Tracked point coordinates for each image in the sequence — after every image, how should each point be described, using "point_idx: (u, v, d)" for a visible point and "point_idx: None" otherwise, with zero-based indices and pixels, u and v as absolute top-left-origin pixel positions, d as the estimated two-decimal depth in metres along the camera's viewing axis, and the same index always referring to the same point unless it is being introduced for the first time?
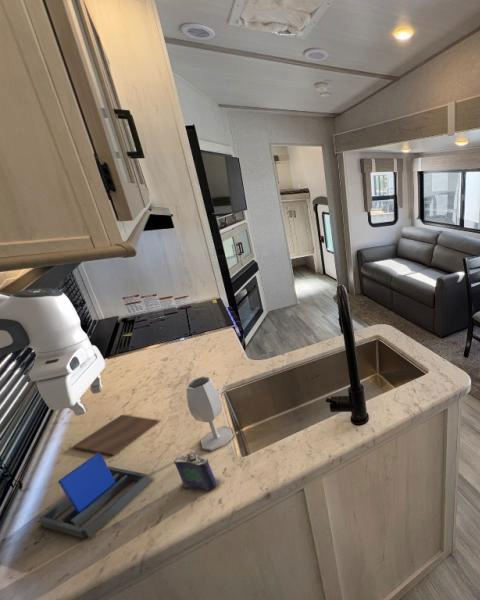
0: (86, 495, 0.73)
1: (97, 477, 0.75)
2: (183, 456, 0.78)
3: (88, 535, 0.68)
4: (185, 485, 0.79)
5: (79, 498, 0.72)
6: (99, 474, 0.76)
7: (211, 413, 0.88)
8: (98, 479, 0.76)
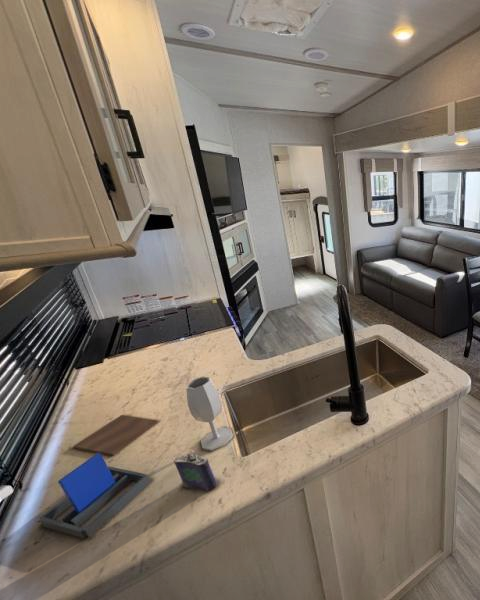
0: (86, 495, 0.73)
1: (97, 477, 0.75)
2: (183, 456, 0.78)
3: (88, 535, 0.68)
4: (185, 485, 0.79)
5: (79, 498, 0.72)
6: (99, 474, 0.76)
7: (211, 413, 0.88)
8: (98, 479, 0.76)
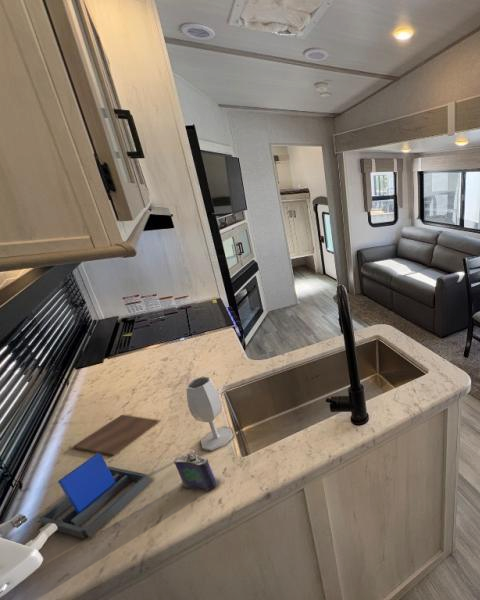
0: (86, 495, 0.73)
1: (97, 477, 0.75)
2: (183, 456, 0.78)
3: (88, 535, 0.68)
4: (185, 485, 0.79)
5: (79, 498, 0.72)
6: (99, 474, 0.76)
7: (211, 413, 0.88)
8: (98, 479, 0.76)
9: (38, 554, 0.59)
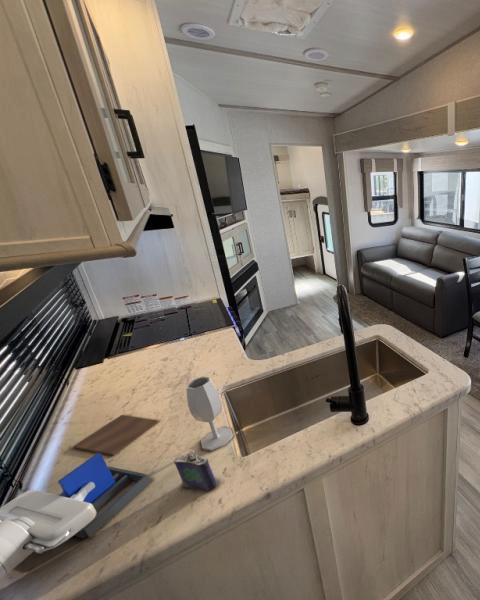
0: None
1: (97, 477, 0.75)
2: (183, 456, 0.78)
3: (88, 535, 0.68)
4: (185, 485, 0.79)
5: None
6: (99, 474, 0.76)
7: (211, 413, 0.88)
8: (98, 479, 0.76)
9: (93, 508, 0.67)
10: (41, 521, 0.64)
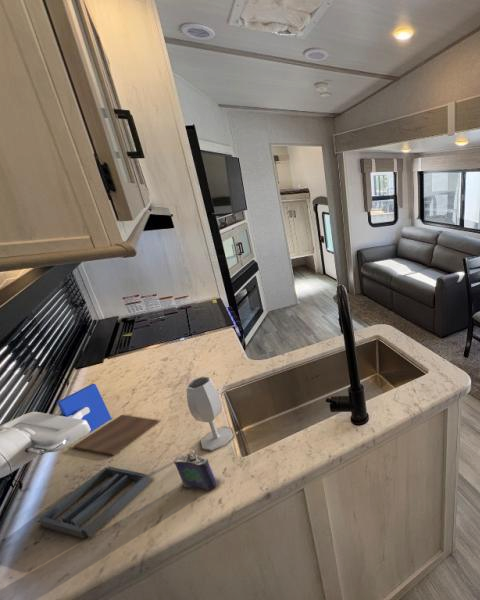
0: (81, 418, 0.82)
1: (92, 404, 0.84)
2: (183, 456, 0.78)
3: (88, 535, 0.68)
4: (185, 485, 0.79)
5: None
6: (94, 402, 0.84)
7: (211, 413, 0.88)
8: (93, 407, 0.84)
9: (87, 424, 0.75)
10: (41, 432, 0.72)
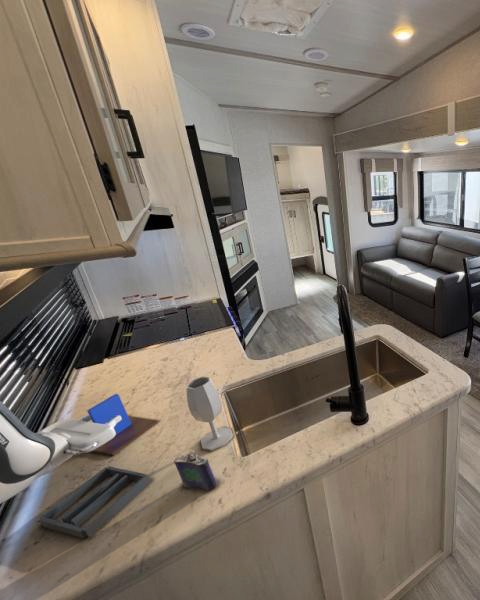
0: None
1: (115, 412, 0.97)
2: (183, 456, 0.78)
3: (88, 535, 0.68)
4: (185, 485, 0.79)
5: None
6: (117, 410, 0.98)
7: (211, 413, 0.88)
8: (116, 414, 0.98)
9: (113, 429, 0.89)
10: (75, 436, 0.86)
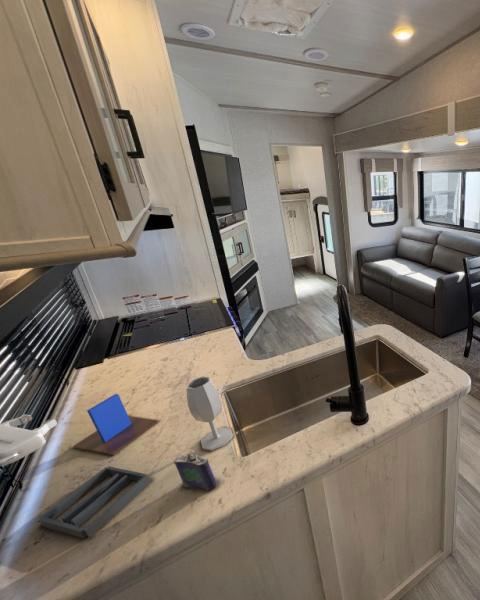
0: (107, 424, 0.95)
1: (115, 412, 0.97)
2: (183, 456, 0.78)
3: (88, 535, 0.68)
4: (185, 485, 0.79)
5: (102, 426, 0.94)
6: (117, 410, 0.98)
7: (211, 413, 0.88)
8: (116, 414, 0.98)
9: (42, 436, 0.75)
10: None
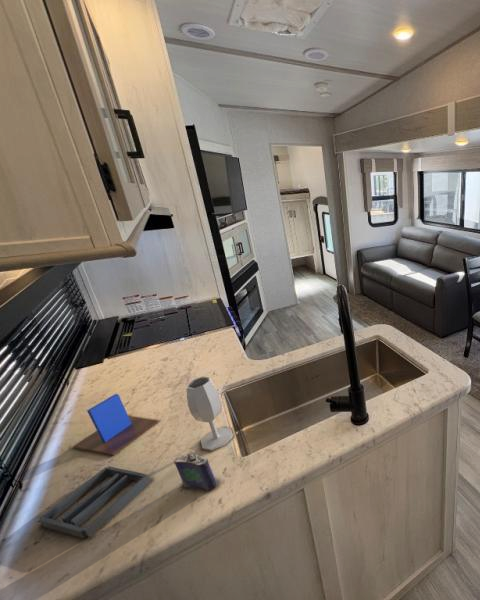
0: (107, 424, 0.95)
1: (115, 412, 0.97)
2: (183, 456, 0.78)
3: (88, 535, 0.68)
4: (185, 485, 0.79)
5: (102, 426, 0.94)
6: (117, 410, 0.98)
7: (211, 413, 0.88)
8: (116, 414, 0.98)
9: None
10: None
